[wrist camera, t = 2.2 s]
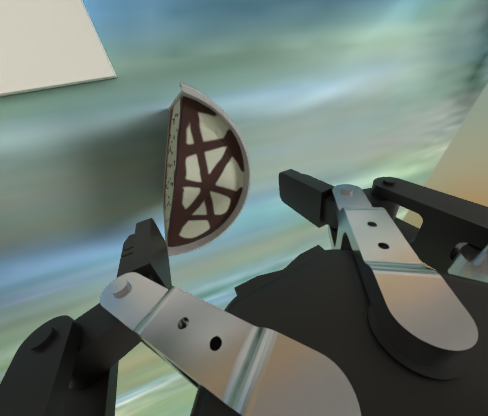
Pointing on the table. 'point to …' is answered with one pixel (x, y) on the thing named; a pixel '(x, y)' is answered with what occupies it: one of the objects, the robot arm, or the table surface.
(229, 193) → the brown lattice half cylinder
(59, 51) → the board
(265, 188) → the table surface
